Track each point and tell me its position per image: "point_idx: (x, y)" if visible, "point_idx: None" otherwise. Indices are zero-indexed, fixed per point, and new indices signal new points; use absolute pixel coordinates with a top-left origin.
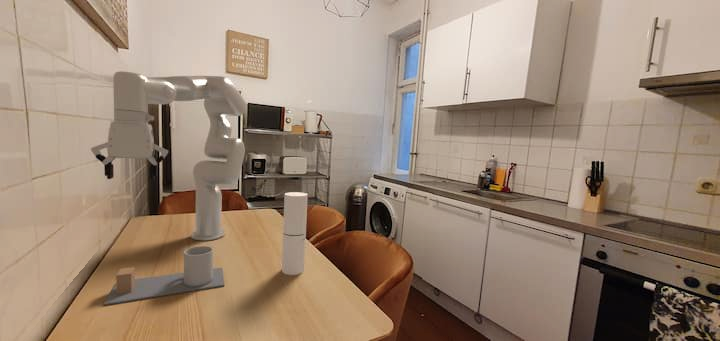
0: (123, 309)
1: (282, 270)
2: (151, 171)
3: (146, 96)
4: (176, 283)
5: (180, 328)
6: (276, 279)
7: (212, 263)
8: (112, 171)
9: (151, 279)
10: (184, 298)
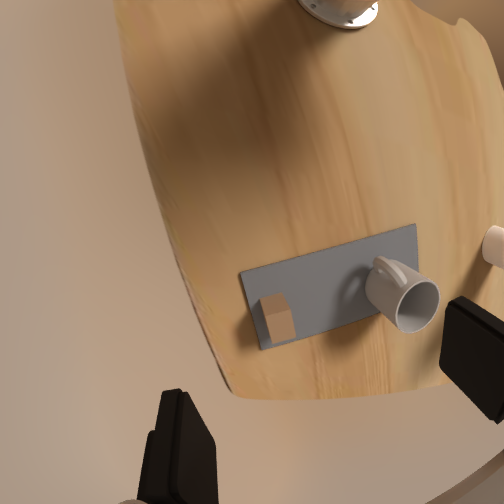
0: (294, 357)
1: (484, 251)
2: (473, 393)
3: None
4: (352, 290)
5: (369, 388)
6: (472, 275)
7: (422, 294)
8: (193, 450)
9: (303, 270)
10: (368, 331)
